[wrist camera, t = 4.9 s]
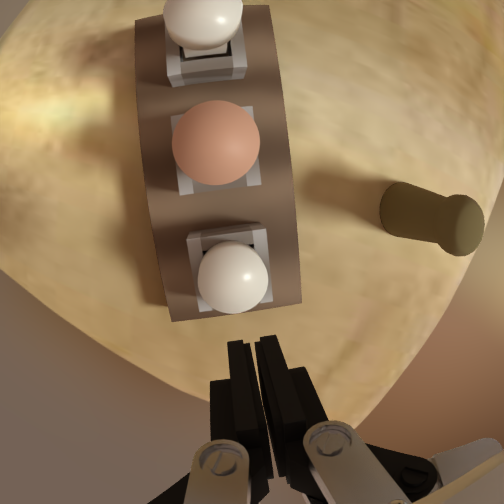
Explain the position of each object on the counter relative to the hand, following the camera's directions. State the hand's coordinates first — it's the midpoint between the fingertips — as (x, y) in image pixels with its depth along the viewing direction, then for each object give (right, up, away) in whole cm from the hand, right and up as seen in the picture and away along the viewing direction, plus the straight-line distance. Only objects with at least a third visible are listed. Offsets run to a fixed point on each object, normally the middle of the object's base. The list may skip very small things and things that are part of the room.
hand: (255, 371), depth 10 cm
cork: (+16, +9, +19) cm, 27 cm away
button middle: (-3, +11, +10) cm, 15 cm away
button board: (-3, +13, +16) cm, 20 cm away
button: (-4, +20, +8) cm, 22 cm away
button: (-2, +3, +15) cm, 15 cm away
